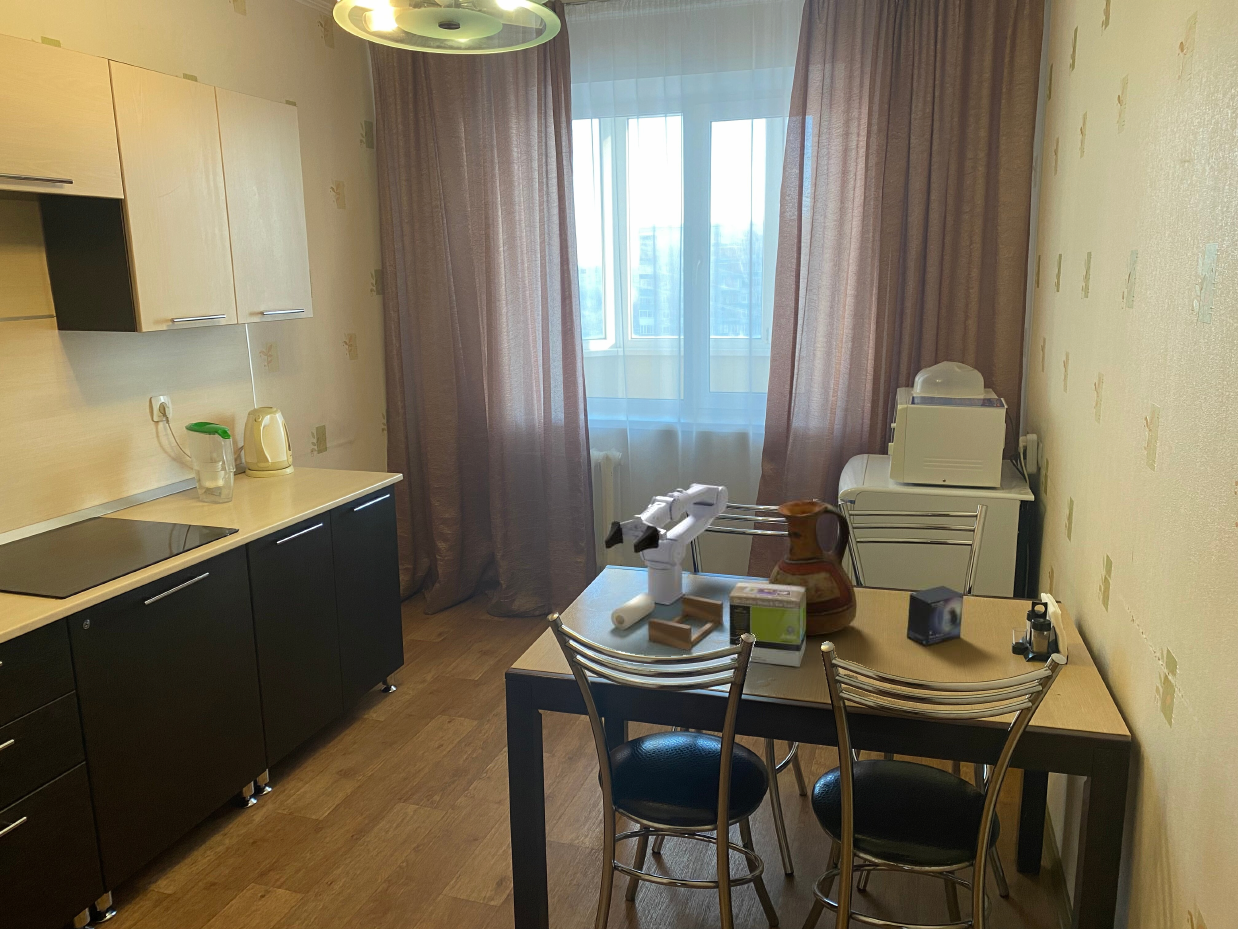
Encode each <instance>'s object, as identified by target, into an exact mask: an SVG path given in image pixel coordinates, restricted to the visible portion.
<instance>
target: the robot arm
mask: <svg viewBox="0 0 1238 929" xmlns="http://www.w3.org/2000/svg"><path fill="white" fill-rule="evenodd" d="M728 503H729V492H728V489H727V487H726V486H723V485H722V486H717V485H709V484H699V483H692V484H690V485H689V489H687V490H684V489H683V488H677V489H676V488H675V491H674V492H672V493H671V492H669V493H667V495H665V496H661V495H658V496H653V497H652V498H651V500H650V503H649V505H648V506H647V507H646V509H645V510H644V511H643V512H642V513H640V514H635V515H633V517H632V519H631V520H627V521H623V522H620V521H615V520H614V521H612V522H611V523H610V525H609V533H608V535H607V536H606V538H605V540H604V545H605V549H612V548H613V547H614V546H616V545H619V544H624V537H625V538H627V539H628V540H631V541H633V542H634V543H633V550H634V551H633V552H634V554H638V553H639V556H640V558H641V559H642V561H644V564H645V566H647V594H649V595H650V596H651V597H652V598H653V600H654V603H657V604H661V605H665V606H669V605H671V604H672V603H674V602H676V601H677V600H678V599H680V598H682V597H683V596H684V595H686V591H683V568H682V566H681V562H682V560H683V558H684V557H685V556H686V553H687V552H686V551H687V546H686V545H689V543H691V541H693V540H694V539H696V538H697V537H698V536H699V535H700V534H702V533H703V532H705V531H706V530H707V529H708V528H709V526H711V524H712V522H714V520H715V518H717V517H718V516H720V515H721V514H722V513H724V511H726V509H727V506H728ZM683 513H687V514H688V517H685V519H683V520H682V521H681V522H679V520H680V518H681V516H682V515H683ZM670 521H671V522H679V523H678V524H676V525H675V526H673V528H671V529H670V530H665V529H662V527H664V526H665V525H666V524H667V523H669V522H670Z"/></svg>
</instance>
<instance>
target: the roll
mask: <svg viewBox="0 0 1238 929" xmlns="http://www.w3.org/2000/svg"><path fill="white" fill-rule="evenodd" d="M655 605H656V604H655V602H654V600H653V598H652V597H651V596H650V595H649V594H648V592H643V593H642V592H641V593H640V594H637V595H636V596H635V597H633V598H632V599H630V600H628V601H627V602H626V603H624V604H622V605H620V606H619V607H618V608H616V609H614V610H613V611H612V612H611V614H610V620H611V623H612V625H613V626H614V627H615V628H616V629H619V630H623V631H625V630H627V629H628V628H630V627H632V626H633V625H634V624H635V623H637V622H639V621H640V620H641V619H643V618H644V617H646V616H647V615H649V614H650V613H651V612H653V611H654V610H655V608H656V607H655Z"/></svg>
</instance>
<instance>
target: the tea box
mask: <svg viewBox="0 0 1238 929" xmlns="http://www.w3.org/2000/svg"><path fill="white" fill-rule="evenodd" d="M728 601H729V602H728V603H729V606H728V608H729V612H728V613H729V617H728V618H729V620H728V621H729V625H728V626H729V648H730V647H734V646H737V645H739V644H740V638H741V635H743V634H745V633H752V634H754V635H755V638H756V641H755V644H754V647H753V650H752V656H751V661H750V662H752V663H754V662H755V663H763V664H771V665H772V664H773V665H779V666H787V667H789V666H790V667H798V668H800V666H801V663H802V660H803V656H804V655H805V654H804V653H805V650H806V636H807V635H806V587H804V586H792V585H779V584H769V583H763V582H752V581H751V582H750V581H741V580H740V581H739V580H738V582H736V585H735V587H734V588H733V590H732V591H731V593H730V594H729V600H728ZM729 659H730V660H736V657H733V658H730V657H729Z"/></svg>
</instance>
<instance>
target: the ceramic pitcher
mask: <svg viewBox="0 0 1238 929" xmlns="http://www.w3.org/2000/svg"><path fill="white" fill-rule="evenodd" d="M777 513H778V515H780V516H781V517H782V518H783V519H784V520H785V522H786V523H787V537H788V539H789V541H790V544H789V548H788V553H786V554H785V555H784V556H783V557H782V558H781V559H780V560H779V561H778V562H777V564H776V565H775V566H774V568H773V570H772V572H771V575H770V576H769V580H768V584H779V585H792V586H804V587H806V636H813V635H814V636H815V635H822V634H829V633H830V634H831V633H834V632H837V631H839V630H842V629H843V628H845V627H847V626H848V625H851V624H852V623H853V621H855V618H856V617H857V616H856V615H857V608H858V606H857V603H858V602H857V596H856V591H855V588H854V585H853V582H852V580H851V578H850V576H849V574H848V573H847V571H846V570H845V568H844V566H843V560H844V556H845V555H846V554H845V553H846V550H847V547H848V544H849V541H850V525H849V522H848V518H847V517H845V515H844V514H843V513H842V511H841V510H839V509H838V508H837V507H835V506H834V505H831V504H830V503H828V502H822V501H819V500H818V501H817V500H810V499H808V500H807V499H803V500H800V501H799V500H793V501H789V502H785V503H783V504H781V505H779V506H778V508H777ZM828 514H829V515H834V516H835V517H836V519H837V524H838V534H837V539H836V542H835V544H834V546H833V548H832V550H830V551H829V552H827V551H825V550H823V549H822V548H821V546H820V543H819V540H818V533H817V524H818V520H819V518H820V517H821V516H823V515H828Z"/></svg>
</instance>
